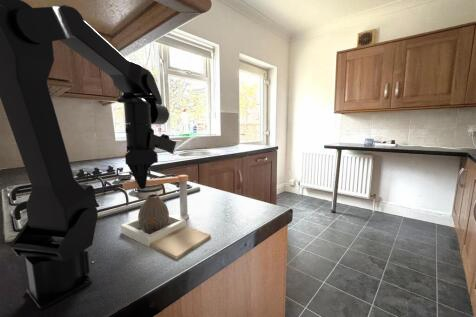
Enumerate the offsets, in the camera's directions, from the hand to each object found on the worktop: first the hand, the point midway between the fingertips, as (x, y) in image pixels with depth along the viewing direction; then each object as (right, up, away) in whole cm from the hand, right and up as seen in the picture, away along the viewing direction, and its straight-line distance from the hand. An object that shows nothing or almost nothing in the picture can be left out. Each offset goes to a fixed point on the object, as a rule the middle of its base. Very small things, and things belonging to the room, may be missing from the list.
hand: (142, 187), depth 54 cm
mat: (+11, -11, -6) cm, 17 cm away
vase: (+4, -11, -1) cm, 11 cm away
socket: (+5, -10, +1) cm, 11 cm away
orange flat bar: (+3, +1, +1) cm, 4 cm away
